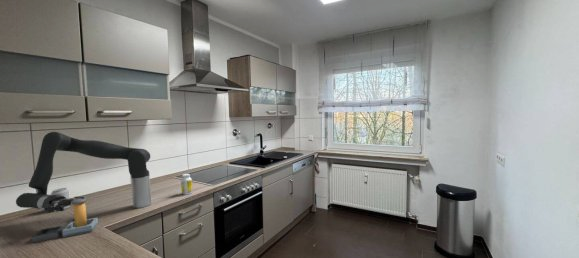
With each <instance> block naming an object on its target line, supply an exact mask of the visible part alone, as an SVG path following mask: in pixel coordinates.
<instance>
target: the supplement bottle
mask: <svg viewBox="0 0 579 258" xmlns="http://www.w3.org/2000/svg"><path fill="white" fill-rule="evenodd" d="M181 177H182V178H181V180H180V184H181V186H180V187H181V194H182V195H184V196H185V195H186V196H187V195H190V194H192V193H193V179H192V177H191V176H190V173H184V174H182V175H181Z"/></svg>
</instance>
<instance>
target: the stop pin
mask: <svg viewBox="0 0 579 258" xmlns="http://www.w3.org/2000/svg"><path fill="white" fill-rule="evenodd" d="M87 201H88V200H87V198H85V197H84V199H77V200H74V201H72V202H71V204H73V206H72V207H73V208H72V209H73V216H74V217H73V219H74V222H75V228H76V227H81V226H87V219H88V218H87V217H88V216H87V206H86V203H85V202H87Z"/></svg>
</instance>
